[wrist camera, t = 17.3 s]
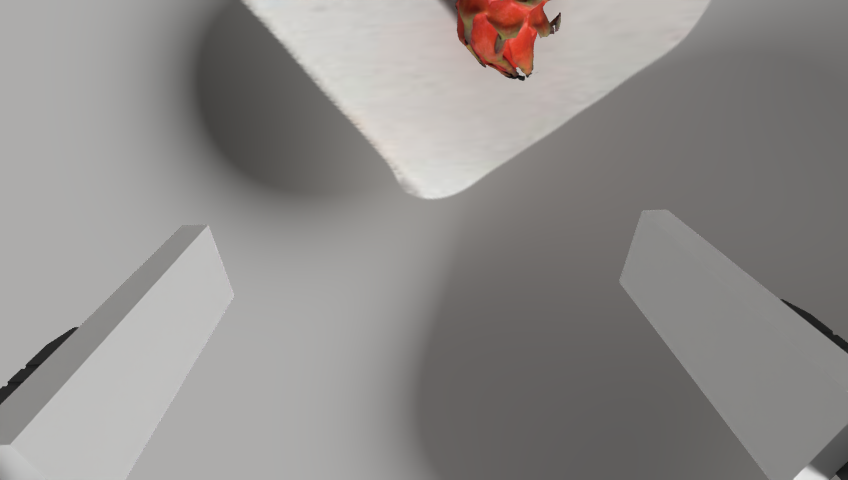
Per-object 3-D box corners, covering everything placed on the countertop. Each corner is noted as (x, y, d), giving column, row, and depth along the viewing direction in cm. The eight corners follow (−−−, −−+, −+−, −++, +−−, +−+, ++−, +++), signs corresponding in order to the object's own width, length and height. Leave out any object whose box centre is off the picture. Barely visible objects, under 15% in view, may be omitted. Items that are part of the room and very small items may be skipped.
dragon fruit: (483, -82, 33) (508, 58, 40) (411, -46, 30) (453, 98, 37) (572, -114, 27) (582, 59, 34) (494, -72, 24) (523, 106, 31)
